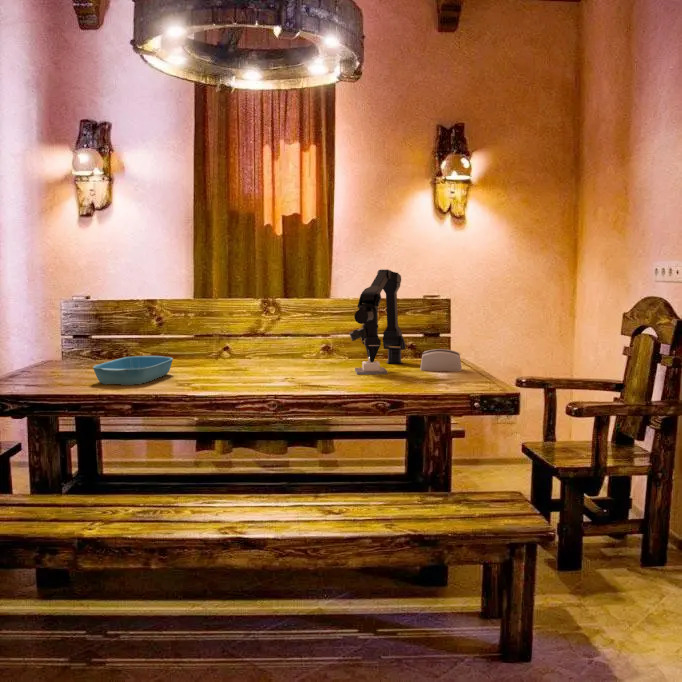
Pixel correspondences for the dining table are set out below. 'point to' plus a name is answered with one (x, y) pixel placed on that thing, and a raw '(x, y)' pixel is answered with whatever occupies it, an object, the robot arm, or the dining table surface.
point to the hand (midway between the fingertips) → (370, 360)
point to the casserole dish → (133, 369)
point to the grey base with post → (362, 372)
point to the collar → (370, 366)
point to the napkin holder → (441, 360)
